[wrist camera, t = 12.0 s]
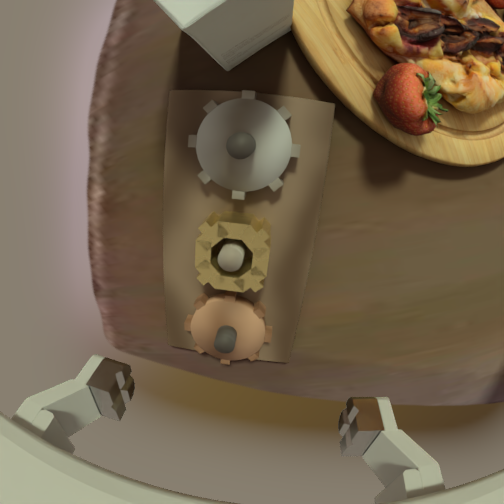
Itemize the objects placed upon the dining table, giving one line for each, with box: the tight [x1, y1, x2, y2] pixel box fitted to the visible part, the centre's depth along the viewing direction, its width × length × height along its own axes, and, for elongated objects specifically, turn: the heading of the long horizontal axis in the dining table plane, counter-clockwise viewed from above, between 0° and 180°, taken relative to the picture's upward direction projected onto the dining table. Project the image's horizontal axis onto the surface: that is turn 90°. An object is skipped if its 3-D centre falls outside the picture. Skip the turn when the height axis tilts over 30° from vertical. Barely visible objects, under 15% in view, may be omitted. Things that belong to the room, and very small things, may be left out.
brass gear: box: [195, 211, 271, 292], centre depth 26 cm, size 6×6×3 cm
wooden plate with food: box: [290, 0, 504, 167], centre depth 14 cm, size 32×32×8 cm
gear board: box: [163, 90, 335, 365], centre depth 26 cm, size 14×27×5 cm, turn 174°
